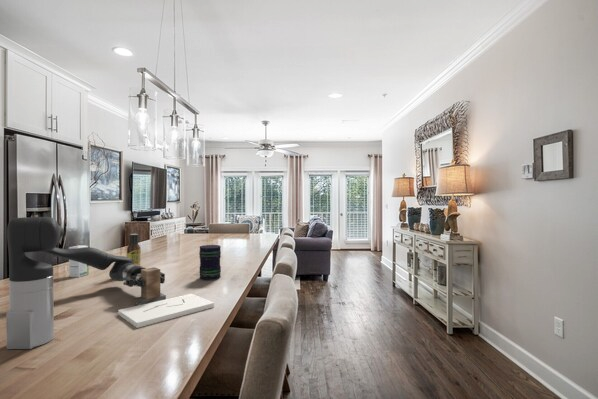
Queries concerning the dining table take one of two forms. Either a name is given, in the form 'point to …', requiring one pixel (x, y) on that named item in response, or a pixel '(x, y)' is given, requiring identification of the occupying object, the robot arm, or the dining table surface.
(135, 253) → the sauce bottle
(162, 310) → the board
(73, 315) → the dining table surface
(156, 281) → the block
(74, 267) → the syrup box
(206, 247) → the storage jar
